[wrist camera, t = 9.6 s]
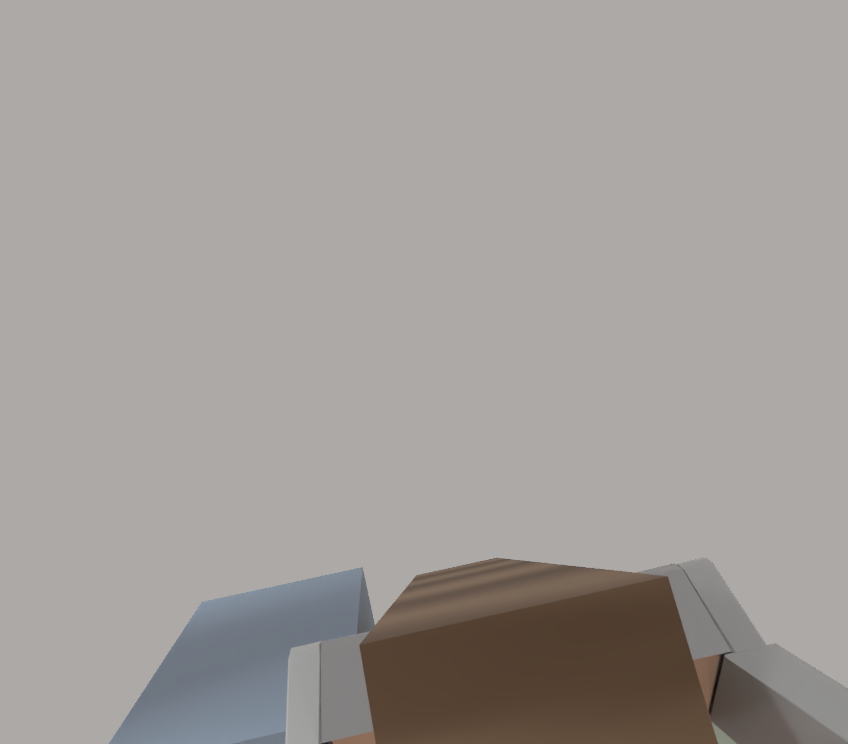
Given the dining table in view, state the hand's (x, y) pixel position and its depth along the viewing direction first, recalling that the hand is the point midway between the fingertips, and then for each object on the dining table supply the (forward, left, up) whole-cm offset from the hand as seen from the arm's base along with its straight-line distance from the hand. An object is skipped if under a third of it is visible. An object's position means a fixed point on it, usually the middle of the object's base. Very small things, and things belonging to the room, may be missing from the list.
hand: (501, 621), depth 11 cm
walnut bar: (0, +7, -6) cm, 10 cm away
